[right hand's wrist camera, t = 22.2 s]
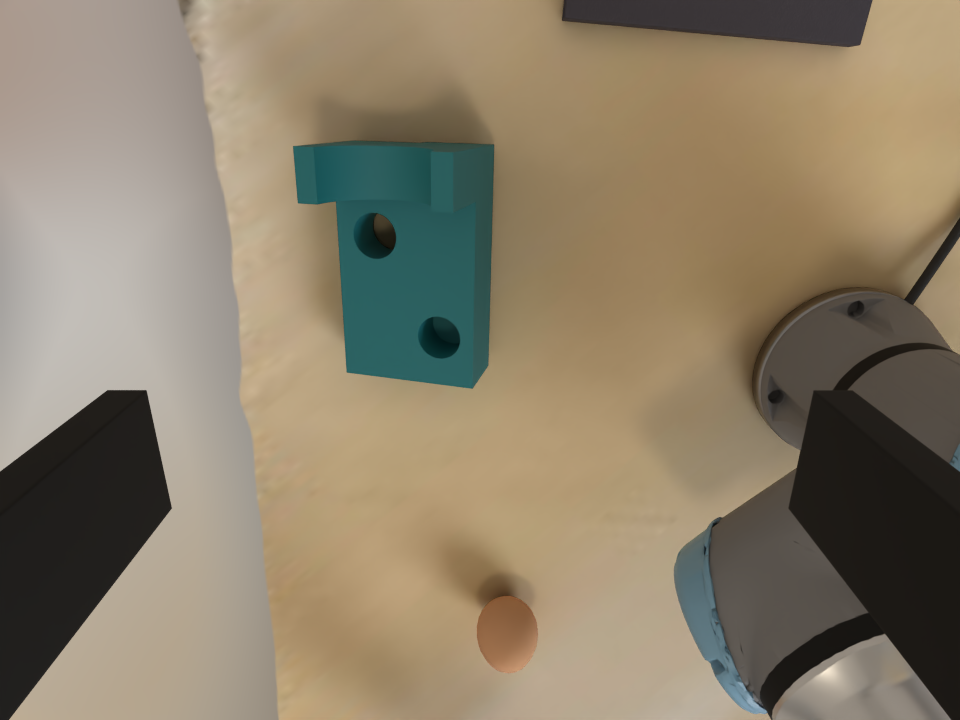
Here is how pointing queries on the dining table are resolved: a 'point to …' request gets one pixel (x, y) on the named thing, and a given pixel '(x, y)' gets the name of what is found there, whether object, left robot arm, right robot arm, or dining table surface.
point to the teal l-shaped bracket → (410, 253)
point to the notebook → (734, 18)
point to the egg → (507, 633)
